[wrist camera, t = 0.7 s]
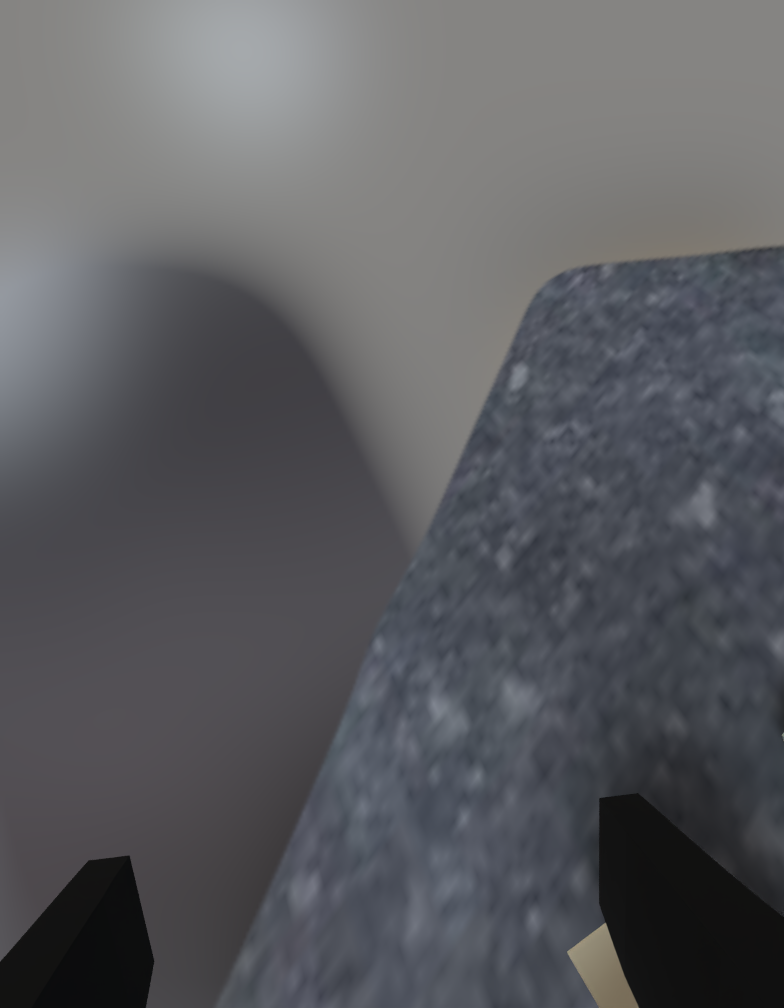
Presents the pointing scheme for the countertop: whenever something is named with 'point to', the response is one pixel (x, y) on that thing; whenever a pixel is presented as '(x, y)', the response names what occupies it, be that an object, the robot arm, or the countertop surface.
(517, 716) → the countertop surface
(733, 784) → the countertop surface
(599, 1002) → the beech block
